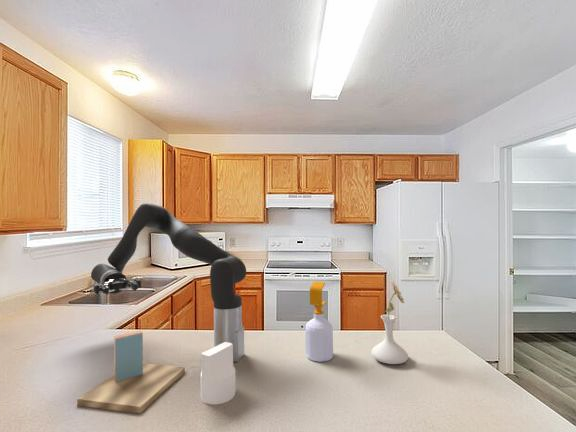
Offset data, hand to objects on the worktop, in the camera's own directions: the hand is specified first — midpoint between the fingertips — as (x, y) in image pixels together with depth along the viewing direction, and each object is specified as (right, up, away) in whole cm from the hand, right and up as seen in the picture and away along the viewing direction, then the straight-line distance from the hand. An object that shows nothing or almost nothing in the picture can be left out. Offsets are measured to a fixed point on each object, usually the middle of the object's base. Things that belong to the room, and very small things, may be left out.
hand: (121, 289), depth 98 cm
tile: (+8, -22, -11) cm, 26 cm away
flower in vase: (+87, -23, +1) cm, 90 cm away
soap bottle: (+64, -24, +4) cm, 68 cm away
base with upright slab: (+35, -24, -17) cm, 46 cm away
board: (+11, -24, -14) cm, 30 cm away
